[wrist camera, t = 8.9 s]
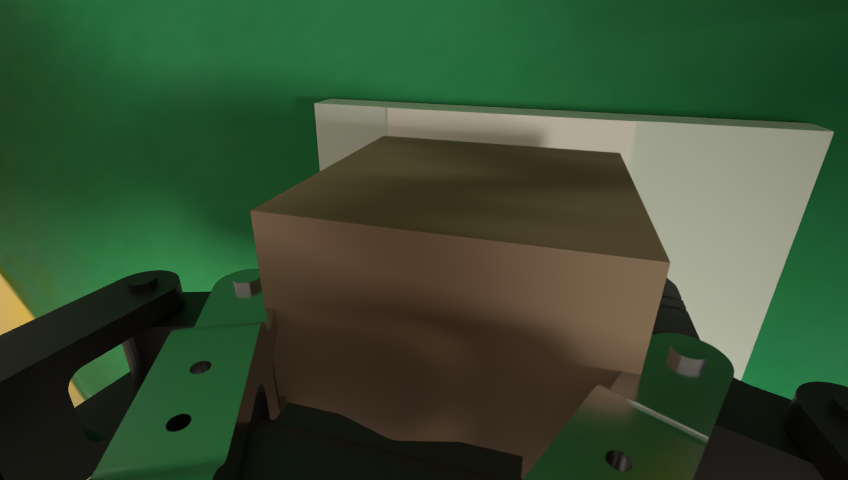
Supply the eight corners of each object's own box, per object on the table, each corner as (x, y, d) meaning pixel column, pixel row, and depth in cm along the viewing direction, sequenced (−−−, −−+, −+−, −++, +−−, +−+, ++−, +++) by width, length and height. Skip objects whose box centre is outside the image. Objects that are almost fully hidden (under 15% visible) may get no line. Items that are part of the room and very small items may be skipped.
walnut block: (619, 153, 11) (670, 263, 6) (581, 355, 13) (591, 562, 8) (383, 135, 12) (250, 210, 7) (387, 321, 15) (290, 478, 10)
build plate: (811, 123, 12) (836, 132, 11) (660, 551, 20) (666, 583, 18) (331, 98, 16) (312, 103, 14) (356, 471, 23) (345, 494, 22)
